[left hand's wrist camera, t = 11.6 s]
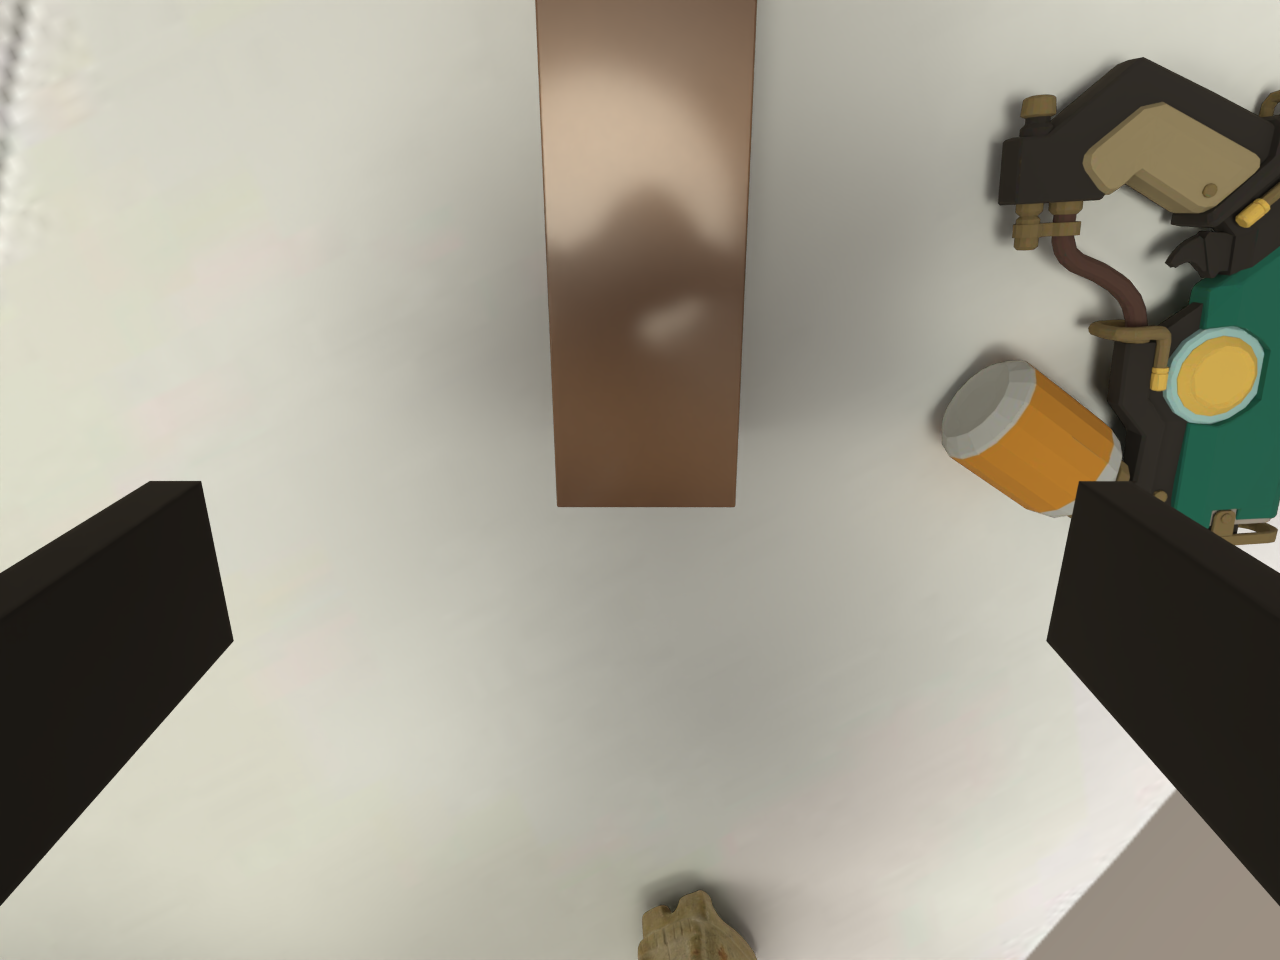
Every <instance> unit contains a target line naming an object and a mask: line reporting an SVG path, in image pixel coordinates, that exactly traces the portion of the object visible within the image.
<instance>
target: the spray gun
mask: <svg viewBox="0 0 1280 960" xmlns="http://www.w3.org/2000/svg"><path fill="white" fill-rule="evenodd" d="M1279 102H1280V90H1279V91H1276V92H1273V93H1270V95H1269V96H1268V97H1267V98H1266V100H1265V101H1264V102H1263V103H1262V106H1261V109H1260V113H1259V116H1258V115H1256V114H1254V113H1252V112H1250V111H1248V110H1246V109H1244V108H1243V107H1241V106H1239V105H1237V104H1235V103H1233V102H1231V101H1229V100H1227V99H1226V98H1224V97H1222V96H1220V95H1218V94H1216V93H1214V92H1212V91H1210V90H1208V89H1206V88H1204V87H1202V86H1200V85H1198V84H1196V83H1194V82H1192V81H1190V80H1188V79H1186V78H1184V77H1182V76H1180V75H1178V74H1176V73H1174V72H1172V71H1170V70H1168V69H1166V68H1164V67H1162V66H1160V65H1158V64H1156V63H1154V62H1152V61H1150V60H1148V59H1146V58H1144V57H1142V58H1137V59H1132V60H1128V61H1125V62H1123V63H1120V64H1118V65H1116V66H1115V67H1114V68H1113V69H1112V70H1110V71H1109V72H1108V73H1107V74H1106V75H1104V76H1103V77H1102V78H1101V79H1100V80H1098V81H1097V82H1096V83H1095V84H1094V85H1093V86H1091V87H1090V88H1089V89H1088V90H1087V91H1085V92H1084V93H1083V94H1082V95H1081V96H1079V97H1078V98H1077V99H1076V100H1075V101H1073V102H1072V103H1071V104H1070V105H1069V106H1067V107H1066V108H1065V109H1064V110H1063V111H1062V112H1060V113H1059V114H1058V115H1057V116H1056V117H1054V118H1053V119H1052V120H1051V121H1050V119H1051V116H1053V115H1055V114H1056V97H1055V96H1053V95H1036V96H1031V97H1028V98H1026V99H1025V100H1023V104H1022V110H1021V116H1020V117H1021V118H1024V119H1025V126H1024V127H1023V128H1022V129H1021V130H1020V135H1019V137H1017V138H1011V139H1008V140H1006V141H1004V143H1003V150H1002V162H1001V174H1000V187H999V199H998V204H999V205H1011V204H1014V205H1016V211H1015V212H1016V213H1017V214H1018V215H1019V216H1020V217H1019V218H1018V219H1017V220H1016V224H1014V225H1013V232H1012V238H1015V239H1014V248H1015V249H1016V250H1034V249H1035V248H1036V247H1038V240H1039V237H1046V236H1052V246H1053V251H1054V254H1055V256H1056V258H1057V259H1058V261H1059V263H1060V264H1062V265H1063V266H1064V267H1065V268H1066V269H1068V270H1069V271H1070V272H1073V273H1075V274H1077V275H1080V276H1082V277H1084V278H1086V279H1089V280H1091V281H1093V282H1095V283H1096V284H1098V285H1100V286H1101V287H1103V288H1104V289H1106V290H1108V291H1109V292H1110V293H1111V294H1112V295H1113V296H1114V297H1115V298H1116V299H1117V301H1118V302H1119V304H1120V306H1121V308H1122V311H1123V315H1124V319H1125V320H1124V319H1123V320H1105V321H1097V322H1094V323H1092V324H1091V325H1090V326H1089V328H1088V329H1089V333H1090V334H1091V335H1094V336H1097V337H1100V338H1103V339H1109V340H1114V341H1115V342H1114V350H1113V358H1112V365H1111V373H1110V381H1109V389H1108V397H1107V401H1108V403H1109V404H1110V406H1111V407H1112V409H1113V410H1114V411H1115V413H1116V414H1117V416H1118V417H1119V419H1120V420H1121V422H1122V423H1123V424H1124V426H1125V428H1126V441H1125V453H1124V462H1123V461H1122V451H1121V445H1120V442H1119V440H1118V439H1117V437H1116V435H1115V434H1114V432H1113V431H1112V429H1111V428H1109V427H1108V426H1107V425H1106V424H1105V423H1104V422H1103V421H1102V420H1100V419H1099V418H1098V417H1097V416H1095V415H1094V414H1093V413H1091V412H1090V411H1089V410H1088V409H1086V408H1085V407H1084V406H1083V405H1081V404H1080V403H1079V402H1077V401H1076V400H1075V399H1074V398H1072V397H1071V396H1070V395H1069V394H1067V393H1066V392H1065V391H1063V390H1062V389H1061V388H1060V387H1058V386H1057V385H1056V384H1055V383H1053V382H1052V381H1051V380H1049V379H1048V378H1047V377H1046V376H1044V375H1043V374H1042V373H1041V372H1039V371H1038V370H1037V369H1035V368H1034V367H1033V366H1032V365H1030V364H1029V363H1028V362H1026V361H1005V362H1001V363H996V364H994V365H991V366H989V367H986V368H984V369H982V370H981V371H979V372H978V373H977V374H975V375H974V376H973V377H971V378H970V379H969V380H968V381H967V382H966V383H965V384H964V385H963V386H962V387H961V388H960V389H959V390H958V391H957V393H956V394H955V396H954V397H953V399H952V400H951V402H950V403H949V405H948V407H947V409H946V412H945V414H944V417H943V419H942V445H943V447H944V448H945V450H946V451H947V453H948V455H949V456H950V457H951V458H952V459H954V460H955V461H957V462H958V463H960V464H961V465H963V466H964V467H966V468H967V469H969V470H970V471H971V472H973V473H974V474H976V475H977V476H979V477H980V478H982V479H983V480H985V481H986V482H988V483H989V484H990V485H992V486H993V487H995V488H996V489H998V490H999V491H1001V492H1002V493H1004V494H1005V495H1007V496H1008V497H1009V498H1011V499H1012V500H1014V501H1015V502H1017V503H1018V504H1020V505H1021V506H1023V507H1024V508H1026V509H1028V510H1031V511H1034V512H1037V513H1040V514H1043V515H1047V516H1050V517H1053V518H1056V517H1062V516H1068V517H1070V518H1071V517H1072V513H1073V508H1074V503H1075V498H1076V493H1077V488H1078V483H1079V481H1131V482H1132V483H1134V484H1136V485H1137V486H1139V487H1140V488H1142V489H1144V490H1145V491H1147V492H1149V493H1150V494H1152V495H1153V496H1155V497H1157V498H1158V499H1160V500H1162V501H1163V502H1165V503H1166V504H1168V505H1170V506H1171V507H1173V508H1175V509H1176V510H1178V511H1179V512H1181V513H1183V514H1184V515H1186V516H1188V517H1189V518H1191V519H1192V520H1194V521H1196V522H1197V523H1199V524H1201V525H1202V526H1204V527H1205V528H1207V529H1209V530H1210V531H1212V532H1214V533H1215V534H1217V535H1218V536H1220V537H1222V538H1223V539H1225V540H1227V541H1228V542H1230V543H1231V544H1233V545H1245V544H1260V543H1271V542H1275V539H1276V535H1277V531H1278V529H1277V528H1275V527H1274V526H1272V525H1269V524H1267V523H1266V522H1268V521H1270V519H1271V518H1274V517H1275V516H1276V515H1277V511H1278V506H1279V501H1280V115H1275V116H1273V113H1274V108H1275V106H1276V105H1277V103H1279ZM1124 184H1127V185H1128V186H1130V187H1131V188H1133V189H1135V190H1136V191H1138V192H1139V193H1141V194H1142V195H1144V196H1146V197H1147V198H1149V199H1150V200H1152V201H1153V202H1155V203H1157V204H1158V205H1160V206H1161V207H1163V208H1164V209H1166V210H1168V211H1169V212H1172V213H1173V216H1172V220H1171V224H1172V225H1176V226H1187V227H1212V228H1213V229H1214V231H1215V232H1210V231H1199V232H1198V234H1197V235H1195V236H1192V237H1190V238H1189V239H1187V240H1185V241H1183V242H1182V243H1181V244H1180V245H1179V246H1178V247H1176V249H1175V250H1174V251H1173V252H1172V253H1171V254H1170V255H1169V257H1168V259H1167V260H1166V262H1165V263H1166V264H1167V265H1168V266H1169V267H1175V268H1176V267H1178V266H1179V265H1181V264H1183V263H1185V262H1189V263H1190V264H1191V265H1192V266H1193V267H1194V269H1195V270H1196V271H1198V272H1199V275H1200V277H1201V278H1204V279H1203V280H1201V281H1200V282H1198V283H1197V284H1195V286H1194V287H1193V289H1192V291H1191V296H1190V300H1189V305H1188V306H1186V307H1185V308H1183V309H1182V310H1180V311H1179V312H1177V313H1176V314H1174V315H1173V316H1171V317H1170V318H1168V319H1167V320H1165V321H1164V322H1162V323H1161V324H1159V325H1158V326H1148V323H1147V313H1146V307H1145V304H1144V302H1143V299H1142V296H1141V294H1140V293H1139V292H1138V290H1137V289H1136V288H1135V286H1134V285H1133V284H1132V282H1131V281H1130V280H1129V279H1127V278H1126V277H1125V276H1124V275H1123V274H1121V273H1119V272H1118V271H1116V270H1115V269H1113V268H1112V267H1110V266H1109V265H1107V264H1105V263H1103V262H1101V261H1099V260H1096V259H1094V258H1091V257H1089V256H1087V255H1084V254H1083V253H1082V252H1080V251H1079V250H1078V249H1077V247H1076V243H1075V238H1074V235H1080V227H1081V221H1076V214H1077V213H1079V212H1080V211H1081V210H1082V208H1083V201H1089V200H1100V199H1102V198H1103V196H1104V195H1109V194H1111V193H1113V192H1114V191H1116V190H1117V189H1118V188H1120V187H1121V186H1122V185H1124ZM1044 203H1049V209H1048V211H1049V212H1050V213H1051V214H1052V215H1054V217H1053V222H1050V223H1040V220H1041V219H1040V218H1039V217H1038V215H1039V214H1040V213H1041V212H1042V211H1043V205H1044ZM1238 527H1240V528H1246V529H1250V530H1253V531H1256V532H1254V533H1239V534H1237V530H1238Z"/></svg>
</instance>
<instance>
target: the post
mask: <svg viewBox="0 0 1280 960" xmlns="http://www.w3.org/2000/svg"><path fill="white" fill-rule="evenodd" d="M535 5H536V29H537V52H538V75H539V98H540V121H541V144H542V167H543V191H544V214H545V237H546V260H547V283H548V306H549V329H550V353H551V376H552V399H553V422H554V445H555V468H556V491H557V506H558V507H735V499H736V476H737V453H738V430H739V407H740V384H741V361H742V338H743V315H744V292H745V269H746V246H747V223H748V200H749V176H750V153H751V130H752V107H753V84H754V61H755V38H756V15H757V0H535Z"/></svg>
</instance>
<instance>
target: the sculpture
mask: <svg viewBox="0 0 1280 960" xmlns="http://www.w3.org/2000/svg"><path fill="white" fill-rule="evenodd" d="M642 926H643V940H642V941H641V942H640V944H639V947H638V960H757V958H756V956H755V954H754V952H753V951H752V949H751V947H750V946H749V945H748V944H747V942H746V941H745V940H744V939H743V938H742V936H741V935H739V934H738V933H737V932H736V931H735V930H734V929H733V928H732V927H730V926H729V925H727V924H726V923H725V922H724V921H723V920H721V918H720V917H719V916H718V914H717V913H716V911H715V909H714V908H713V906H712V901H711V898H710V896H709V895H708V894H707V893H706V892H704V891H702V890H699V891H696V892H694V893H690V894H687V895H685V896H683V897H682V898H680V900H679V903H678V906H677V908H676V910H675V911H674V912H673V913H672V912H671V911H670V909H669V907H668V906H665V905H660V906H657V907H655V908H653V909H651V910H649V911H647V912H646V913H645V914H644V915H643V918H642Z"/></svg>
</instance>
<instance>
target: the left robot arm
mask: <svg viewBox="0 0 1280 960" xmlns="http://www.w3.org/2000/svg"><path fill="white" fill-rule="evenodd" d="M233 641H234V640H233V635H232V631H231V626H230V621H229V616H228V611H227V606H226V601H225V596H224V591H223V586H222V581H221V576H220V572H219V567H218V562H217V557H216V552H215V547H214V542H213V537H212V532H211V527H210V522H209V518H208V513H207V508H206V503H205V498H204V493H203V488H202V483H201V481H149V482H148V483H146V484H144V485H143V486H141V487H140V488H138V489H136V490H135V491H133V492H131V493H130V494H128V495H127V496H125V497H123V498H122V499H120V500H118V501H117V502H115V503H114V504H112V505H110V506H109V507H107V508H105V509H104V510H102V511H101V512H99V513H97V514H96V515H94V516H92V517H91V518H89V519H88V520H86V521H84V522H83V523H81V524H79V525H78V526H76V527H75V528H73V529H71V530H70V531H68V532H66V533H65V534H63V535H62V536H60V537H58V538H57V539H55V540H53V541H52V542H50V543H49V544H47V545H45V546H44V547H42V548H40V549H39V550H37V551H36V552H34V553H32V554H31V555H29V556H27V557H26V558H24V559H23V560H21V561H19V562H18V563H16V564H14V565H13V566H11V567H10V568H8V569H6V570H5V571H3V572H1V573H0V906H1V905H2V904H3V902H4V901H5V900H6V899H7V898H8V897H9V896H10V894H11V893H12V892H13V891H14V890H15V889H16V888H17V886H18V885H19V884H20V883H21V882H22V881H23V880H24V879H25V877H26V876H27V875H28V874H29V873H30V872H31V871H32V869H33V868H34V867H35V866H36V865H37V864H38V863H39V861H40V860H41V859H42V858H43V857H44V856H45V855H46V854H47V852H48V851H49V850H50V849H51V848H52V847H53V846H54V844H55V843H56V842H57V841H58V840H59V839H60V838H61V837H62V835H63V834H64V833H65V832H66V831H67V830H68V829H69V827H70V826H71V825H72V824H73V823H74V822H75V821H76V819H77V818H78V817H79V816H80V815H81V814H82V813H83V812H84V810H85V809H86V808H87V807H88V806H89V805H90V804H91V802H92V801H93V800H94V799H95V798H96V797H97V796H98V794H99V793H100V792H101V791H102V790H103V789H104V788H105V787H106V785H107V784H108V783H109V782H110V781H111V780H112V779H113V777H114V776H115V775H116V774H117V773H118V772H119V771H120V769H121V768H122V767H123V766H124V765H125V764H126V763H127V762H128V760H129V759H130V758H131V757H132V756H133V755H134V754H135V752H136V751H137V750H138V749H139V748H140V747H141V746H142V744H143V743H144V742H145V741H146V740H147V739H148V738H149V737H150V735H151V734H152V733H153V732H154V731H155V730H156V729H157V727H158V726H159V725H160V724H161V723H162V722H163V721H164V719H165V718H166V717H167V716H168V715H169V714H170V713H171V712H172V710H173V709H174V708H175V707H176V706H177V705H178V704H179V702H180V701H181V700H182V699H183V698H184V697H185V696H186V695H187V693H188V692H189V691H190V690H191V689H192V688H193V687H194V685H195V684H196V683H197V682H198V681H199V680H200V679H201V677H202V676H203V675H204V674H205V673H206V672H207V671H208V670H209V668H210V667H211V666H212V665H213V664H214V663H215V662H216V660H217V659H218V658H219V657H220V656H221V655H222V654H223V652H224V651H225V650H226V649H227V648H228V647H229V646H230V645H231V643H232V642H233ZM1046 641H1047V642H1048V643H1049V645H1050V646H1051V647H1052V648H1053V649H1054V650H1055V651H1056V652H1057V654H1058V655H1059V656H1060V657H1061V658H1062V659H1063V660H1064V662H1065V663H1066V664H1067V665H1068V666H1069V667H1070V668H1071V670H1072V671H1073V672H1074V673H1075V674H1076V675H1077V676H1078V677H1079V679H1080V680H1081V681H1082V682H1083V683H1084V684H1085V685H1086V687H1087V688H1088V689H1089V690H1090V691H1091V692H1092V693H1093V695H1094V696H1095V697H1096V698H1097V699H1098V700H1099V701H1100V702H1101V704H1102V705H1103V706H1104V707H1105V708H1106V709H1107V710H1108V712H1109V713H1110V714H1111V715H1112V716H1113V717H1114V718H1115V719H1116V721H1117V722H1118V723H1119V724H1120V725H1121V726H1122V727H1123V729H1124V730H1125V731H1126V732H1127V733H1128V734H1129V735H1130V737H1131V738H1132V739H1133V740H1134V741H1135V742H1136V743H1137V744H1138V746H1139V747H1140V748H1141V749H1142V750H1143V751H1144V752H1145V754H1146V755H1147V756H1148V757H1149V758H1150V759H1151V760H1152V762H1153V763H1154V764H1155V765H1156V766H1157V767H1158V768H1159V769H1160V771H1161V772H1162V773H1163V774H1164V775H1165V776H1166V777H1167V779H1168V780H1169V781H1170V782H1171V783H1172V784H1173V785H1174V787H1175V788H1176V789H1177V790H1178V791H1179V792H1180V793H1181V794H1182V796H1183V797H1184V798H1185V799H1186V800H1187V801H1188V802H1189V804H1190V805H1191V806H1192V807H1193V808H1194V809H1195V810H1196V812H1197V813H1198V814H1199V815H1200V816H1201V817H1202V818H1203V819H1204V821H1205V822H1206V823H1207V824H1208V825H1209V826H1210V827H1211V829H1212V830H1213V831H1214V832H1215V833H1216V834H1217V835H1218V836H1219V838H1220V839H1221V840H1222V841H1223V842H1224V843H1225V844H1226V846H1227V847H1228V848H1229V849H1230V850H1231V851H1232V852H1233V854H1234V855H1235V856H1236V857H1237V858H1238V859H1239V860H1240V861H1241V863H1242V864H1243V865H1244V866H1245V867H1246V868H1247V869H1248V871H1249V872H1250V873H1251V874H1252V875H1253V876H1254V877H1255V879H1256V880H1257V881H1258V882H1259V883H1260V884H1261V885H1262V886H1263V888H1264V889H1265V890H1266V891H1267V892H1268V893H1269V894H1270V896H1271V897H1272V898H1273V899H1274V900H1275V901H1276V902H1277V903H1278V905H1279V906H1280V573H1279V572H1277V571H1275V570H1274V569H1272V568H1270V567H1269V566H1267V565H1266V564H1264V563H1262V562H1261V561H1259V560H1257V559H1256V558H1254V557H1253V556H1251V555H1249V554H1248V553H1246V552H1244V551H1243V550H1241V549H1240V548H1238V547H1236V546H1235V545H1233V544H1231V543H1230V542H1228V541H1227V540H1225V539H1223V538H1222V537H1220V536H1218V535H1217V534H1215V533H1214V532H1212V531H1210V530H1209V529H1207V528H1205V527H1204V526H1202V525H1201V524H1199V523H1197V522H1196V521H1194V520H1192V519H1191V518H1189V517H1188V516H1186V515H1184V514H1183V513H1181V512H1179V511H1178V510H1176V509H1175V508H1173V507H1171V506H1170V505H1168V504H1166V503H1165V502H1163V501H1162V500H1160V499H1158V498H1157V497H1155V496H1153V495H1152V494H1150V493H1149V492H1147V491H1145V490H1144V489H1142V488H1140V487H1139V486H1137V485H1136V484H1134V483H1132V482H1131V481H1079V483H1078V488H1077V493H1076V498H1075V503H1074V508H1073V513H1072V517H1071V522H1070V527H1069V532H1068V537H1067V542H1066V547H1065V552H1064V557H1063V562H1062V567H1061V572H1060V576H1059V581H1058V586H1057V591H1056V596H1055V601H1054V606H1053V611H1052V616H1051V621H1050V626H1049V631H1048V635H1047V640H1046Z"/></svg>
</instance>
